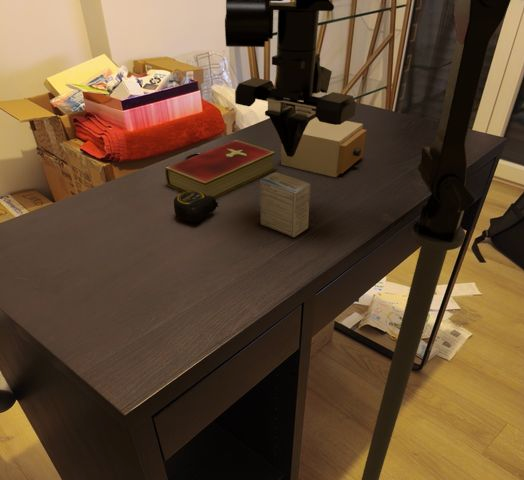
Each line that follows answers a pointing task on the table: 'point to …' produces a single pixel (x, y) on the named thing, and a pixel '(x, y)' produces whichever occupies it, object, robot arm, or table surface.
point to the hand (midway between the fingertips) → (290, 155)
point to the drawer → (351, 150)
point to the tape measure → (193, 205)
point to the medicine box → (284, 203)
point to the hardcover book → (220, 169)
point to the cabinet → (320, 147)
